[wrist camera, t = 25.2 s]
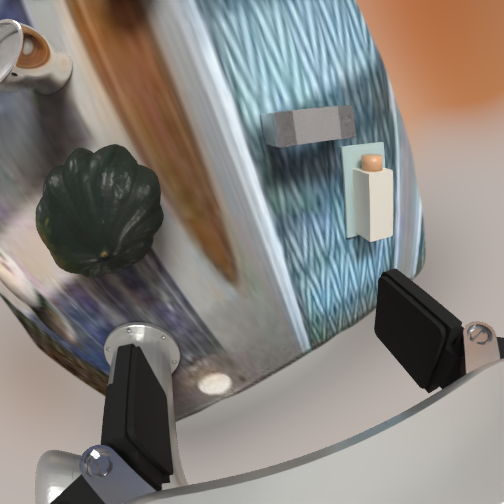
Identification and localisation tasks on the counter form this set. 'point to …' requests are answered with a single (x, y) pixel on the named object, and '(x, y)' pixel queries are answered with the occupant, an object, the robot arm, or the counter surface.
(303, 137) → the housing
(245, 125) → the counter surface
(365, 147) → the mat
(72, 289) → the counter surface
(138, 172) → the squash
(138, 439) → the robot arm
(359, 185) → the plug
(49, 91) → the beer glass
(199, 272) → the counter surface
